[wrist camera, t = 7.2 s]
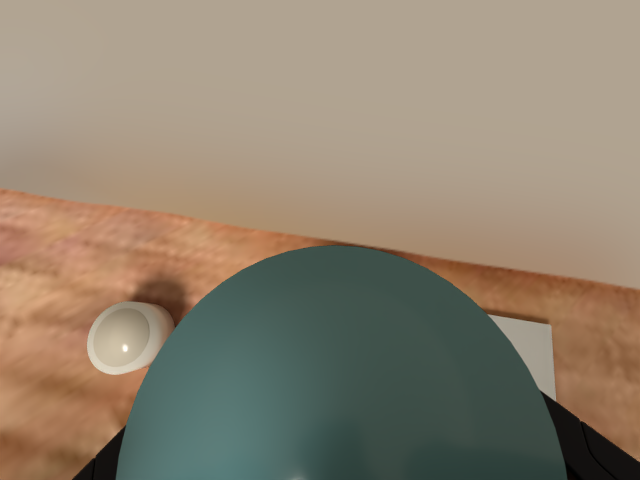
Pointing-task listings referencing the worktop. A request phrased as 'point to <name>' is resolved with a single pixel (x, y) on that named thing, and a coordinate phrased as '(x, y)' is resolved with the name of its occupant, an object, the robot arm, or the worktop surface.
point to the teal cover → (338, 381)
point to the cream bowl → (128, 336)
